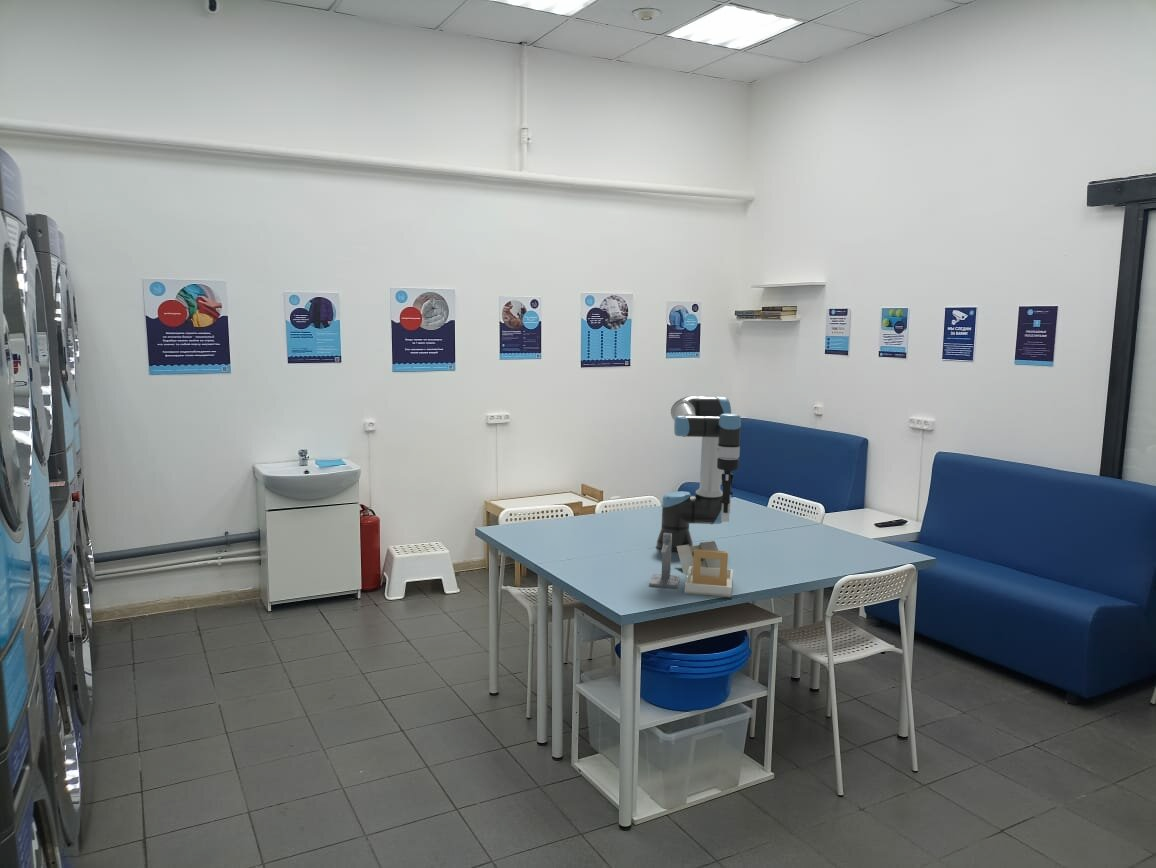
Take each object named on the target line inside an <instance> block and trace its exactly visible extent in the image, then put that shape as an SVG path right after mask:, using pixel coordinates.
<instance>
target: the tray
mask: <svg viewBox="0 0 1156 868" xmlns="http://www.w3.org/2000/svg"><path fill="white" fill-rule="evenodd" d="M700 575H705V576H718V577H720V568H707V567H701V568H700ZM733 577H734V569H730V568H727V585H726V586H720V585H707V584H695V583H693V566H689V570H688V573H687V575H686V578H685V582H684V594H687V595H698V596H709V597H710V596H713V597H721V598H722V597H723V598H732V594H733V593H732V592H733V591H732V590H733V580H734V579H733Z"/></svg>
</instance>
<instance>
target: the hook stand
mask: <svg viewBox="0 0 1156 868" xmlns="http://www.w3.org/2000/svg"><path fill="white" fill-rule="evenodd" d="M671 545H672V533H663V546H662V549H660V553H661V556H662V557H661V573H660V574H659V573H652V575H651V577H650V580H649V582H648V586H649V587H656V588H657V587H658V588H669V589H671V588H672V589H678V587H679V583H680V579H681V575H675V574H671V573H672V572H671V570H672V551H671Z"/></svg>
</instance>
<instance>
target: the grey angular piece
mask: <svg viewBox="0 0 1156 868" xmlns="http://www.w3.org/2000/svg"><path fill="white" fill-rule="evenodd" d="M694 549H701V550H715V551H720V550H719V548H718V546H717V543H716V541H715V540H714V541H713V540H711V541H705V542H704V541H703V542H699V545H693V546H689V544H688V545H680V546H677V550H678V551H677V554H678V557H679V562H680V565H681V566H680V567H681V570H682V573H683V574H684V575H686V574H688V570H689V566H693V557H694ZM701 567H707V568H720V560H719V559H706V558H701Z"/></svg>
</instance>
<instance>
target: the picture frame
mask: <svg viewBox="0 0 1156 868" xmlns="http://www.w3.org/2000/svg"><path fill="white" fill-rule="evenodd" d="M701 558H706V559H719V560H720V577H718V576H705V575H700V568H701ZM728 558H729V551H728V550H726V551H725V550H724V551H723V550H719V551H715V550H701V549H694V557H693V583H695V584H707V585H720V586H726V585H727V569H728V561H729V559H728Z"/></svg>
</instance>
